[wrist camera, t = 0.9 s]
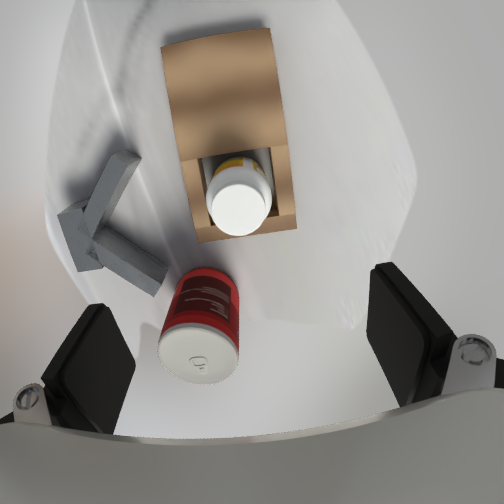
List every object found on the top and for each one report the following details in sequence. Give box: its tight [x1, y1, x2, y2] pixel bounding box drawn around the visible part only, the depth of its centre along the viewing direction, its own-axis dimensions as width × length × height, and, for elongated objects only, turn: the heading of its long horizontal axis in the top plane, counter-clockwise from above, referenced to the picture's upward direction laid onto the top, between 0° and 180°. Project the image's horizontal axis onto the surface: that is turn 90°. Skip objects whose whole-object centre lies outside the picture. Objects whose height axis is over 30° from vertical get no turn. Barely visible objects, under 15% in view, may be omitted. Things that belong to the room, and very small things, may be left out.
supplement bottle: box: [206, 157, 272, 236], centre depth 26 cm, size 5×5×10 cm
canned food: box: [157, 268, 239, 385], centre depth 31 cm, size 8×8×11 cm
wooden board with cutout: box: [161, 28, 297, 243], centre depth 27 cm, size 20×10×2 cm, turn 8°
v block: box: [57, 150, 170, 297], centre depth 30 cm, size 10×16×4 cm, turn 8°
